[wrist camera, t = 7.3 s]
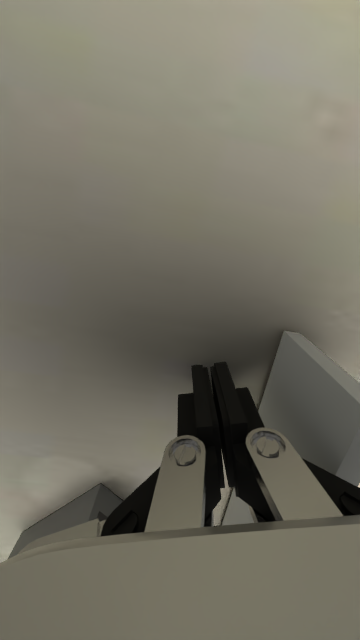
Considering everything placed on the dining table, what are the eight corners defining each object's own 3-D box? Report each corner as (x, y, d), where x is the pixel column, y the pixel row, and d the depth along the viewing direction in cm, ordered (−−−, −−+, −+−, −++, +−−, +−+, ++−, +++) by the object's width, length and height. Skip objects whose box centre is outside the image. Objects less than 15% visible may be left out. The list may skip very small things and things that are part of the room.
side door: (279, 330, 11) (360, 410, 6) (312, 334, 11) (419, 418, 6) (203, 572, 18) (211, 711, 13) (224, 575, 18) (241, 713, 13)
